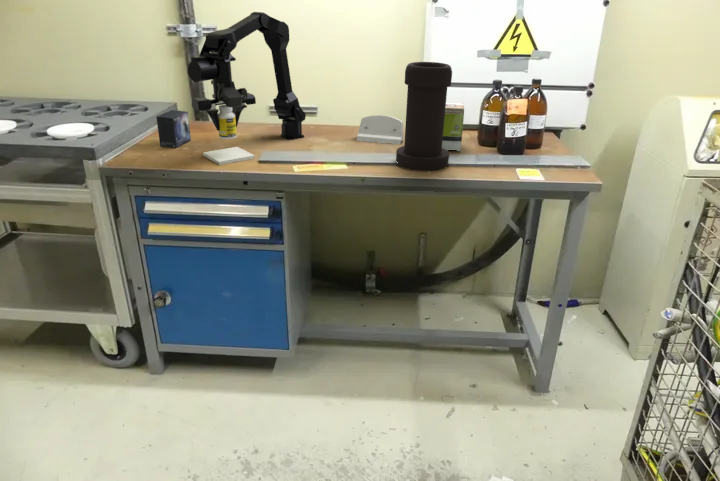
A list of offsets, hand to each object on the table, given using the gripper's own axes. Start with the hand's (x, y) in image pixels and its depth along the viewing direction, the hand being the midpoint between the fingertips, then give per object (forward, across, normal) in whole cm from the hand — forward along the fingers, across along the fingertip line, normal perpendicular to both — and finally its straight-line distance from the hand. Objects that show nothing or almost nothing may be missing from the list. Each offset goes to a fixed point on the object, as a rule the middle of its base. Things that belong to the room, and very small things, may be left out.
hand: (226, 129), depth 167 cm
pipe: (+9, +47, -40) cm, 62 cm away
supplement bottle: (+3, 0, 0) cm, 3 cm away
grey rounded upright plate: (+10, +54, -12) cm, 56 cm away
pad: (+9, 0, 0) cm, 9 cm away
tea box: (+10, +65, -30) cm, 72 cm away
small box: (+9, -8, +24) cm, 27 cm away
